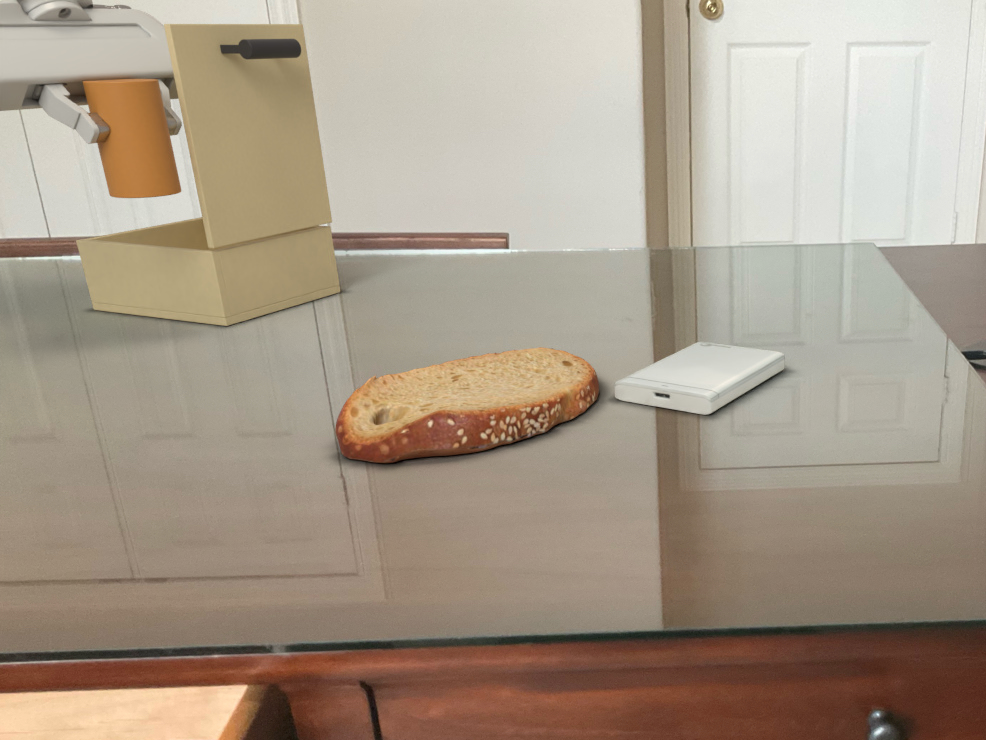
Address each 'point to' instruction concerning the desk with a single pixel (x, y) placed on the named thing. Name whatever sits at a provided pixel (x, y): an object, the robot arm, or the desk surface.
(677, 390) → the hard drive
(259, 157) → the lid
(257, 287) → the breadbox
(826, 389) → the desk surface
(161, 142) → the orange cylinder
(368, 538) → the desk surface
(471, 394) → the slice of bread
